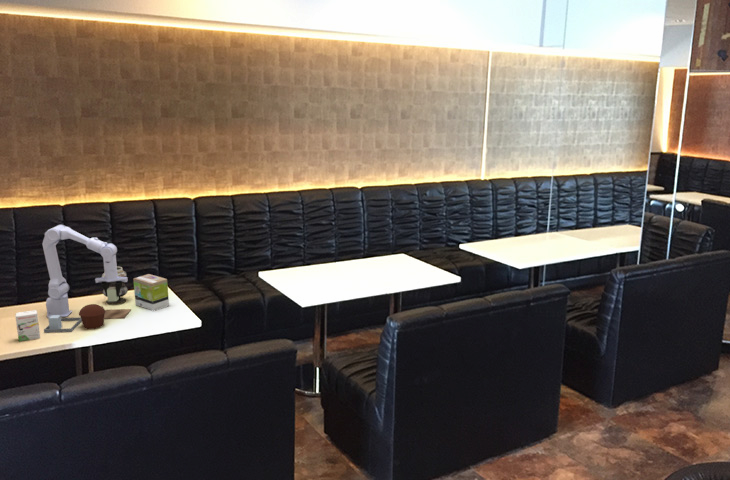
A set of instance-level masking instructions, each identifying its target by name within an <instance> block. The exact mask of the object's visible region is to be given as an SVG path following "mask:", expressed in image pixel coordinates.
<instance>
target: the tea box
mask: <svg viewBox="0 0 730 480" xmlns="http://www.w3.org/2000/svg"><path fill="white" fill-rule="evenodd" d="M132 282H133V290H134V291H133V293H134V301H135V302H134V305H135V306H137V307H138V306H139V307H142V308H144V309H147V310H149V311H152V310H153V312H155V311H157V309H158V310H160V308H161V309H164V308H166V306H167V307H168V306H170V300H169V299H170V298H169V286H168V279H167V278H164V277H162V276H157V275H153V274H150V273H147V274H144V275H140V276H138V277H134V278H133V281H132ZM163 307H164V308H163ZM154 310H155V311H154Z"/></svg>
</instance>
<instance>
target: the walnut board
mask: <svg viewBox="0 0 730 480" xmlns="http://www.w3.org/2000/svg"><path fill="white" fill-rule="evenodd" d="M131 310H132V309H131V308H121V309H120V308H119V309H118V308H117V309H115V308H114V309H111V308H110V309H105V311H106V312H105V313H104V320H112V319H113V320H117V319H123V320H124V319H125V318H126V317H127V316H128V315H129V313H130V312H131Z"/></svg>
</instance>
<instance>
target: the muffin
mask: <svg viewBox="0 0 730 480" xmlns="http://www.w3.org/2000/svg"><path fill="white" fill-rule="evenodd" d="M105 310H106V309H105V308H104V307H103V306H101V305H99V304H96V303H90V304H86V305H84V306H83V307H82V308H81V309H80V310H79V311H78V315H79V317H81V320H82V322H81V323H82V327H83V329H86V330H95V329H100V328H101V327H103V326H104V325H105V324H104V322H105V319H104V313H105V312H106V311H105Z"/></svg>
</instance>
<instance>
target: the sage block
mask: <svg viewBox="0 0 730 480" xmlns="http://www.w3.org/2000/svg"><path fill="white" fill-rule="evenodd" d="M106 298H107V300H108V301H117V300H118V299H119V296H118V297H117V295H116V287H109V288H108V289H107V297H106Z"/></svg>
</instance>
